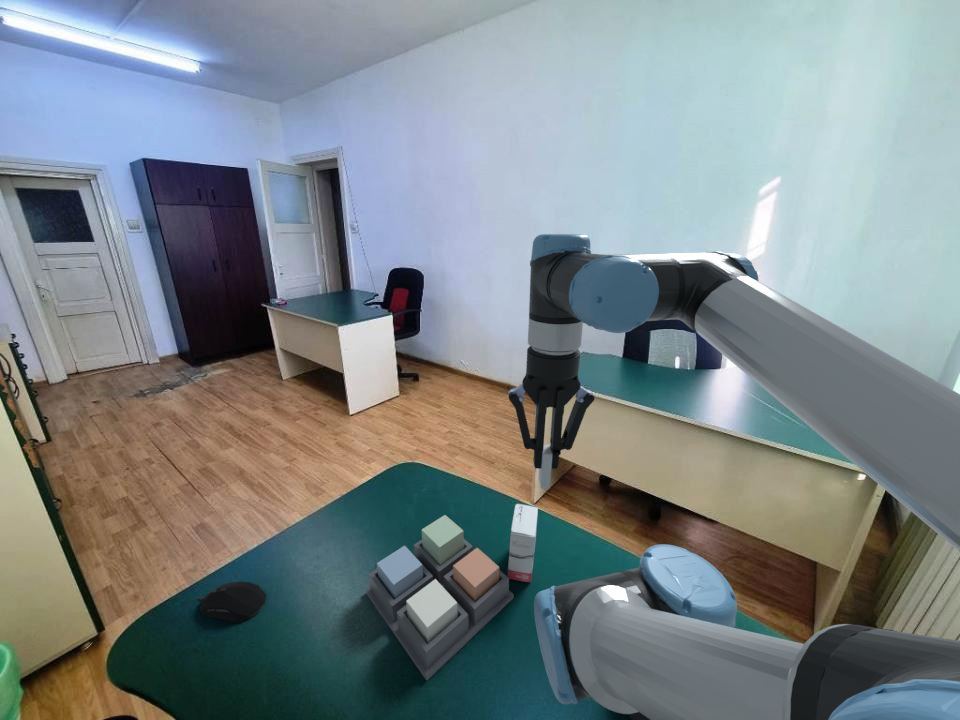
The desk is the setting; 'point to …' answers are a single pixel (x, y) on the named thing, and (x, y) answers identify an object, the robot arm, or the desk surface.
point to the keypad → (456, 633)
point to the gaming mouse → (233, 601)
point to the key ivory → (431, 610)
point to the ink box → (522, 542)
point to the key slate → (399, 572)
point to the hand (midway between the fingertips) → (544, 483)
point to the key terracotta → (476, 574)
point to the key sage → (442, 540)
